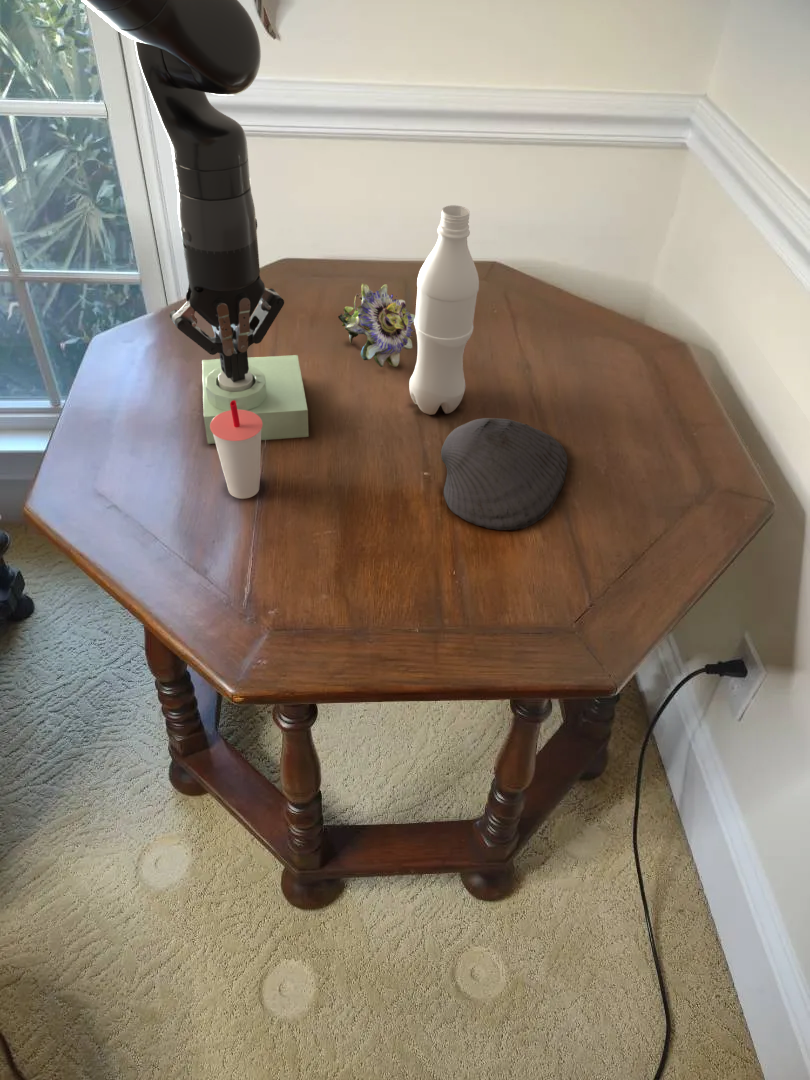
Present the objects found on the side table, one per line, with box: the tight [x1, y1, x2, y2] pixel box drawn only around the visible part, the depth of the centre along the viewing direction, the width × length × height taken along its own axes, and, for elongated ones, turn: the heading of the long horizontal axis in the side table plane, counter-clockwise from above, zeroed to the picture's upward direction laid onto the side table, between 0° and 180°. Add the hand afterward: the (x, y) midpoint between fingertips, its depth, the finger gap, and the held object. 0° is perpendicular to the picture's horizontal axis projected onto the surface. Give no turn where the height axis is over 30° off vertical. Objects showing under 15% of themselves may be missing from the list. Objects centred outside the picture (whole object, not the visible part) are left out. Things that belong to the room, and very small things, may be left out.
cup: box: [210, 400, 263, 500], centre depth 82 cm, size 5×5×12 cm
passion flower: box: [338, 283, 416, 368], centre depth 105 cm, size 11×11×12 cm
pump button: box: [218, 371, 253, 392], centre depth 91 cm, size 4×4×2 cm
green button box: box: [201, 354, 310, 445], centre depth 94 cm, size 12×12×6 cm
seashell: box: [440, 417, 568, 531], centre depth 88 cm, size 14×19×8 cm
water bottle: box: [408, 204, 480, 415], centre depth 91 cm, size 7×7×25 cm
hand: (235, 377), depth 90 cm, fingers closed
